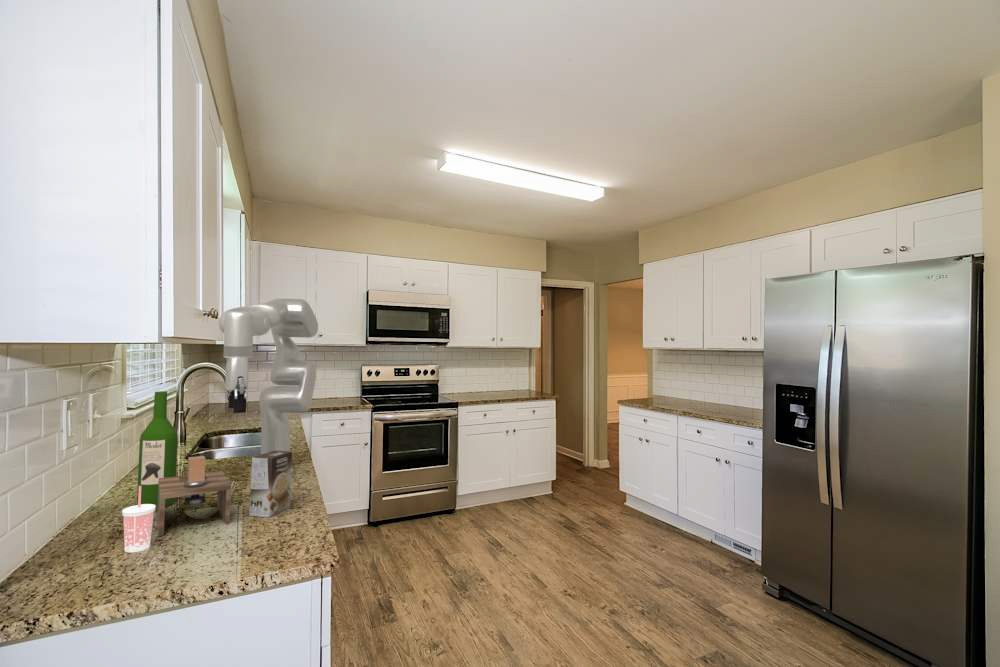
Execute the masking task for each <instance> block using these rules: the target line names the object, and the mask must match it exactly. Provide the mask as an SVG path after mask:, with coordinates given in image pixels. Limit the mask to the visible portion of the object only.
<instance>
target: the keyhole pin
mask: <svg viewBox="0 0 1000 667" xmlns="http://www.w3.org/2000/svg"><path fill="white" fill-rule="evenodd" d="M187 458H188V459H187V475H188V476H187V481H183V482H184V487H186V488H196V487H201V486H205V485H207V479H205V473H206V456H205V455H199V456H189V457H187ZM205 502H206V494H205V493H202V494H195V495H188V496H184V505H185V506H197V505H201V504H204V503H205Z"/></svg>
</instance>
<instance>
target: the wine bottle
mask: <svg viewBox="0 0 1000 667" xmlns="http://www.w3.org/2000/svg"><path fill="white" fill-rule="evenodd" d="M153 401H154V402H153V414H152V415H153V416H152V420H151V421H150V422H149V424H148V425H147V426H146V428H145V429H144V430H143V431H142V432H141V433H140V436H139V448H138V450H139V451H138V472H137V477H138V478H137V492H136V493H137V496H136V498H137V499H136V505H138V494H139V486H141V504H154V505H156V507H155V511H157V505H158V481H159V478H166V477H174V476H177V466H178V465H177V463H178V438H179V437H178V432H177V429H176V428H175V427H174V425H173V424H172V423H171V422H170V421H169V419H168V416H167V413H168V412H167V411H168V410H167V409H168V391H155V392H154V400H153ZM175 502H176V497H174V498H167V499H165V508H168V507H171V506H173V505H174V504H175Z"/></svg>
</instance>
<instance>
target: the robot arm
mask: <svg viewBox="0 0 1000 667" xmlns="http://www.w3.org/2000/svg"><path fill="white" fill-rule="evenodd" d="M218 327H219V330H220V332H222V333H223V358H225V359H226V366H225V382H224V384H225V386H224V389H225V390H226V391H228V393H229V394H228V408H229V409H233V410H232V412H233V414H241V413H242V414H243V413H246V412H247V393H246V391H248V388H249V358H250V359H252V358H253V354H254V353H253V350H254V349H253V344H254V342H253V341H254V339H253V338H254V336H255V337H257V336H265V335H266V334H267V333H269V331H271V335H272V338H273V340H274V346H275V355H274V359H273V361H272V362H273V363H272V366H271V371H270V378H269V379H270V382H272V384H274V386H267V387H264V388H263V389H262V390H261V392H260V394H259V398H258V399H259V400H258V401H259V402H258V403H259V407H260V414H261V416H260V417H261V426H260V428H261V429H260V430H261V432H260V454H264V453H267V452H271V451H289V452H290V444H291V443H290V442H291V423H290V421H289V419H288V416H287V415H286V414H288V413H289V414H291V413H295V414H296V413H301V414H302V413H305V412H308V411H309V409H310V408H311V405H312V402H313V396H314V390H315V385H316V379H317V367H316V365H315V364H314V362H312V361H310V360H299V358H300V356H301V355H300V354H301V350H300V348H299V347H298V345H297V344H296V343H295V341H293V339H292V338H313V337H315V336H316V335H317V334H318V331H319V323H318V320H317V318H316V315H315V313H314V311H313V309H312V307H311V305H310V304H309V303H308V302H307V301H306V300H305V299H301V298H274V299H272V300H269V301H267V302H264V303H259V304H253V305H246V306H237V307H234V308H231V309H230V308H229V309H227V310H225V311H223V313H222V314H221V315H220V317H219V321H218ZM275 385H276V386H275ZM293 473H294V468H293V467H292V469H291V475H292V474H293Z"/></svg>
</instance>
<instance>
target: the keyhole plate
mask: <svg viewBox="0 0 1000 667" xmlns="http://www.w3.org/2000/svg"><path fill="white" fill-rule="evenodd" d="M187 476H188V474H183V475H176V476H174V477H166V478H159V481H158V505H157V509H156V520H157V532H158V533H157V534H158V537H162V536H164V532H165V509H166V507H165V499H167V498H174V497H175V498H181V497H187V496H190V495H195V494H209V493H214V492H217V498H216V507H217V509H218V511H219V514H220V516H221V518H222V521H223V523H224V524H225V525H229V524H230V523H231V521H230V520H231V496H232V495H231V493H232V492H231V491H232V490H231V489H232V484H231V483H230V481H229V478H227V476H226V473H224V471H223V470H216V471H208V472H205V479H207V485H205V486H201V487H196V488H186V487H184V482H185V481H187Z"/></svg>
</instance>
